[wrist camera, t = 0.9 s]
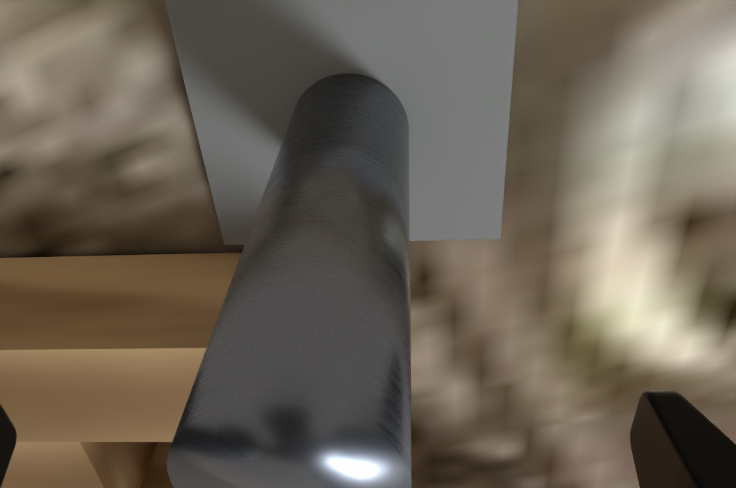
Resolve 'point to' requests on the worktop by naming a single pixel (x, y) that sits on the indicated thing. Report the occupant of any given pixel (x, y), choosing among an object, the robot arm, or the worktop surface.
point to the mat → (365, 57)
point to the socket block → (103, 362)
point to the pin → (314, 313)
